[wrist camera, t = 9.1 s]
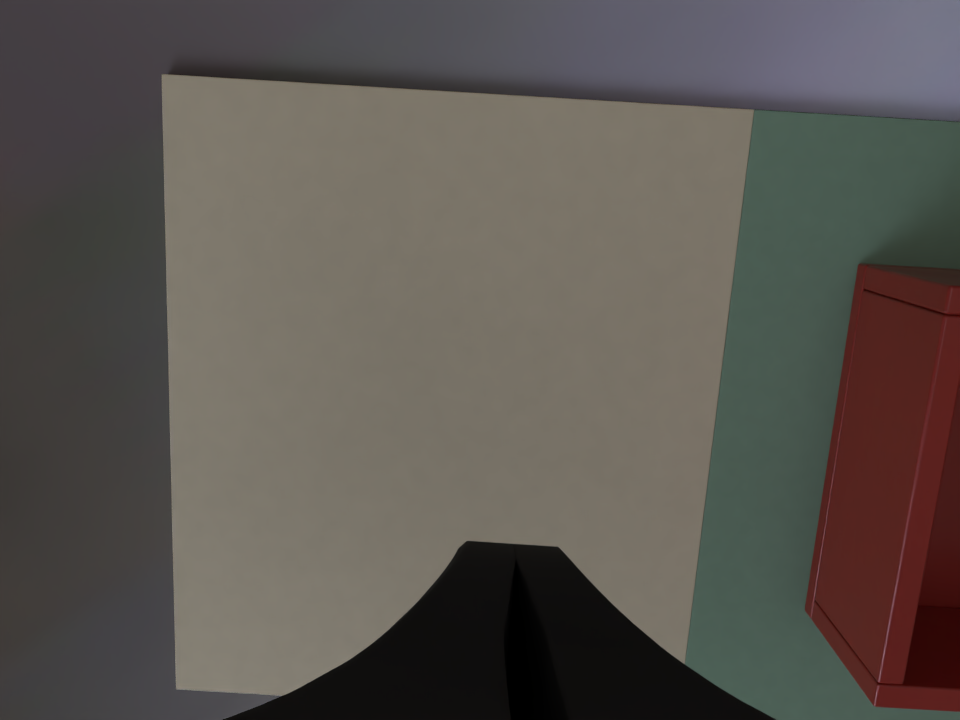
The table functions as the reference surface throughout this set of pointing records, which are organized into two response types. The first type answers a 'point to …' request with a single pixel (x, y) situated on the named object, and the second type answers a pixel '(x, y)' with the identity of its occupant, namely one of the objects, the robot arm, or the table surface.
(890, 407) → the pan
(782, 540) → the desk pad
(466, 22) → the table surface
